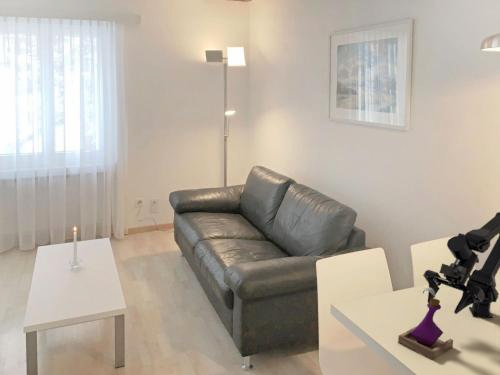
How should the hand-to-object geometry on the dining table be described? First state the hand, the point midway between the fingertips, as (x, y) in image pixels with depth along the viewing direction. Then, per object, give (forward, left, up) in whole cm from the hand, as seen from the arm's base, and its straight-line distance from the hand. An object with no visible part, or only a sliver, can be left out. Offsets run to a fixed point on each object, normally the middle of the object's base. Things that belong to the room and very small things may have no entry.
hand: (441, 307), depth 155 cm
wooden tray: (+6, -5, -10) cm, 13 cm away
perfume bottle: (+5, -5, -10) cm, 12 cm away
